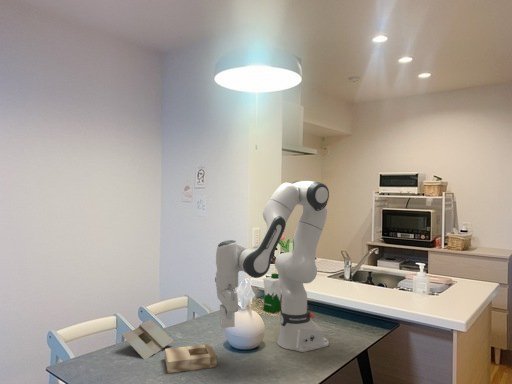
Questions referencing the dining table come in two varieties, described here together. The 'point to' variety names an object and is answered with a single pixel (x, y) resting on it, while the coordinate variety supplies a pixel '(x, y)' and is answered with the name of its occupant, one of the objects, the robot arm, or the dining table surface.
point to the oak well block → (190, 358)
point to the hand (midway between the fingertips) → (227, 316)
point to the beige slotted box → (147, 339)
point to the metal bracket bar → (223, 320)
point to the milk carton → (272, 294)
